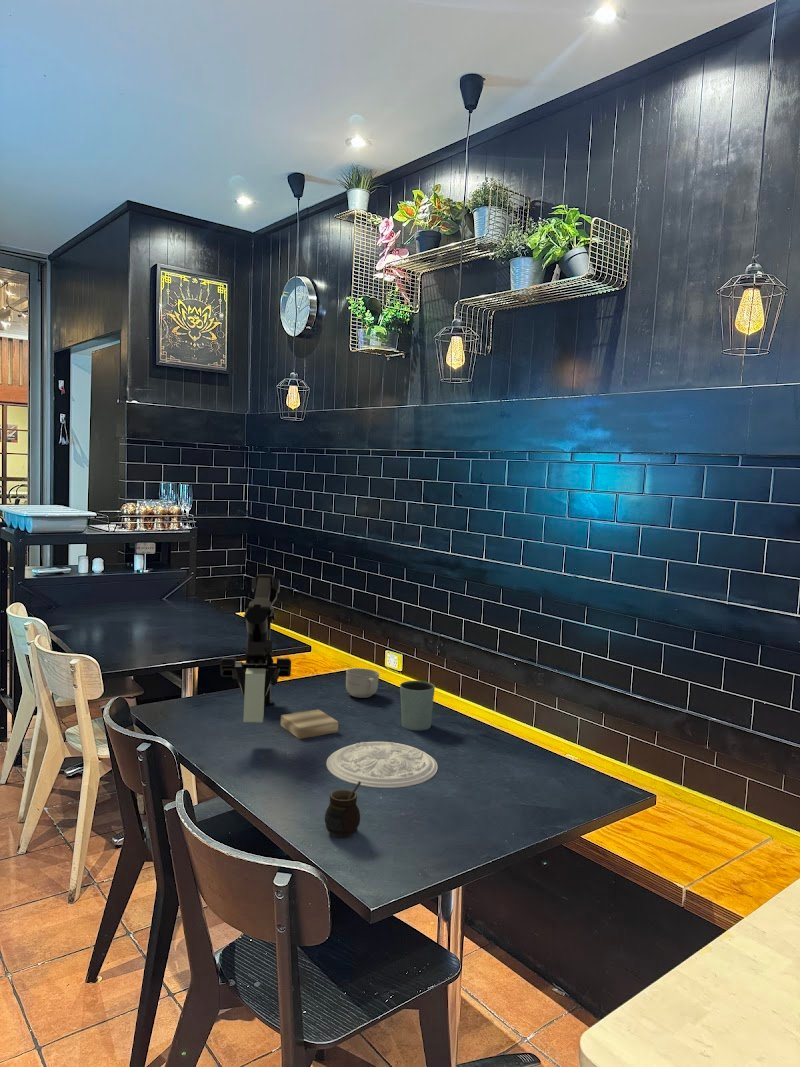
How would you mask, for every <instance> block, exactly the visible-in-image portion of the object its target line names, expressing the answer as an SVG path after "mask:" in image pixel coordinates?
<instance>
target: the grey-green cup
mask: <svg viewBox="0 0 800 1067" xmlns="http://www.w3.org/2000/svg"><path fill="white" fill-rule="evenodd" d="M435 688H436V687H435V684H433V683H431V682H429V681H423V680H407V681H403V682H401V683H400V685H399V691H400V692H399V694H400V714H401V717H400V718H401V725H402V727H403V728H404V729H406V730H411V731H417V732H418V731H427V730H429V729H430V728H431V726H432V719H433V718H432V717H433V707H434V699H435V698H434V696H435Z"/></svg>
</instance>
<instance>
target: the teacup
mask: <svg viewBox="0 0 800 1067" xmlns="http://www.w3.org/2000/svg"><path fill="white" fill-rule="evenodd" d="M345 673H346V674H345V675H346V676H345V689H346V691H347V692H348V693H349V695H350V696H352V697H354V698H361V699H362V698H363V699H365V698H366V699H367V698H370V697H372V696H373V695H375V694H376V693H377V690H378V686H379V680H380V678H379V677H380V672H379V671H377V670H373V669H369V668H361V667H360V668H349V669H347V670H346V671H345Z"/></svg>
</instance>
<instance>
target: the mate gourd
mask: <svg viewBox="0 0 800 1067" xmlns="http://www.w3.org/2000/svg"><path fill="white" fill-rule="evenodd" d="M360 784H361V782H360V781H359V782H358V784H357V785H356V784H355V787H354V788H353V789H352V790H349V789H336V790H333V791H332V792H330V794H329V805H328V807H327V809H326V810H325V813H324V823H325V828H326V829H327V832H329V834H331V835H332V836H334V837H337V838H346V837H347V838H348V837H350V836H351V835H353V834H354V833H356V832H357V830H358V829H359V828H358V827H359V826H360V823H361V812H360V809H359V807H358V804H357V801H358V795H357V793H356V791H357V789H358V788H359V786H361V785H360Z"/></svg>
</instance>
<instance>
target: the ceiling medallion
mask: <svg viewBox="0 0 800 1067" xmlns="http://www.w3.org/2000/svg"><path fill="white" fill-rule="evenodd" d="M326 768H327V770H328V772H330V773H331V775H333V776H334V777H335V778H337V779H339V780H342V781H343V782H346V783H350V784H352V785H355V786H356V785H357V784H358V782H359V781H360V782H361V784H360V785H359V786H362V787H366V788H367V787H368V788H377V789H378V788H379V789H397V788H405V787H413V786H415V785H419V784H422V783H424V782H427V781H429V780H431V779H432V778H434V776H435V775H436V774H437V772H438V768H439V767H438V763H437V761H436V759H435V758H434V757H432V756H431V755H429V754H428V753H426V752H425V751H423V750H421V749H419V748H416V747H414V746H412V745H407V744H403V743H398V742H393V741H367V742H366V741H361V742H357V743H355V744H350V745H348V746H347V745H346V746H344V747H341V748H340V749H338V750H336V751H334V752H333V753H331V754H330V755H329V756H328V758H327V759H326Z"/></svg>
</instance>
